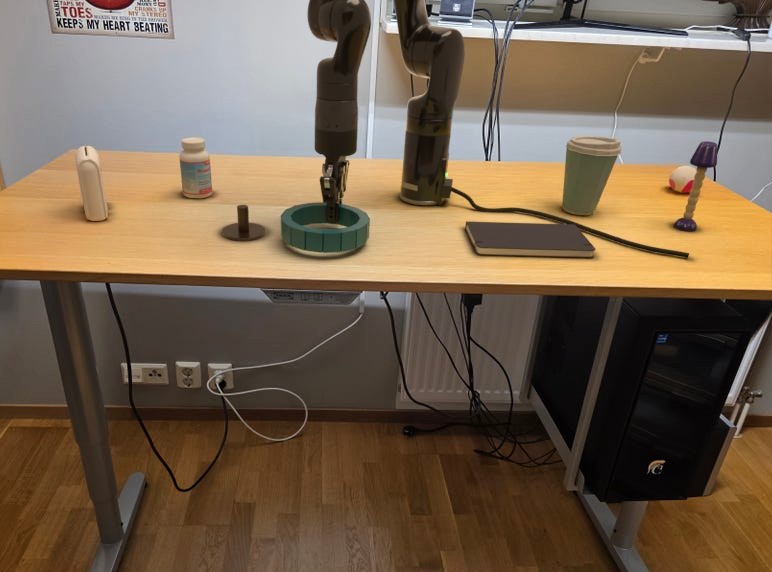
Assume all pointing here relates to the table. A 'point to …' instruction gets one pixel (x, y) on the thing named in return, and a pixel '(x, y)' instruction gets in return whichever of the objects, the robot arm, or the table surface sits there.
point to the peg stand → (243, 227)
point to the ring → (324, 239)
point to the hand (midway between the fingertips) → (333, 219)
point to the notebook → (528, 239)
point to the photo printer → (91, 183)
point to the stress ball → (682, 179)
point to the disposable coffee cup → (587, 172)
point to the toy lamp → (697, 182)
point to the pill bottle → (195, 168)
